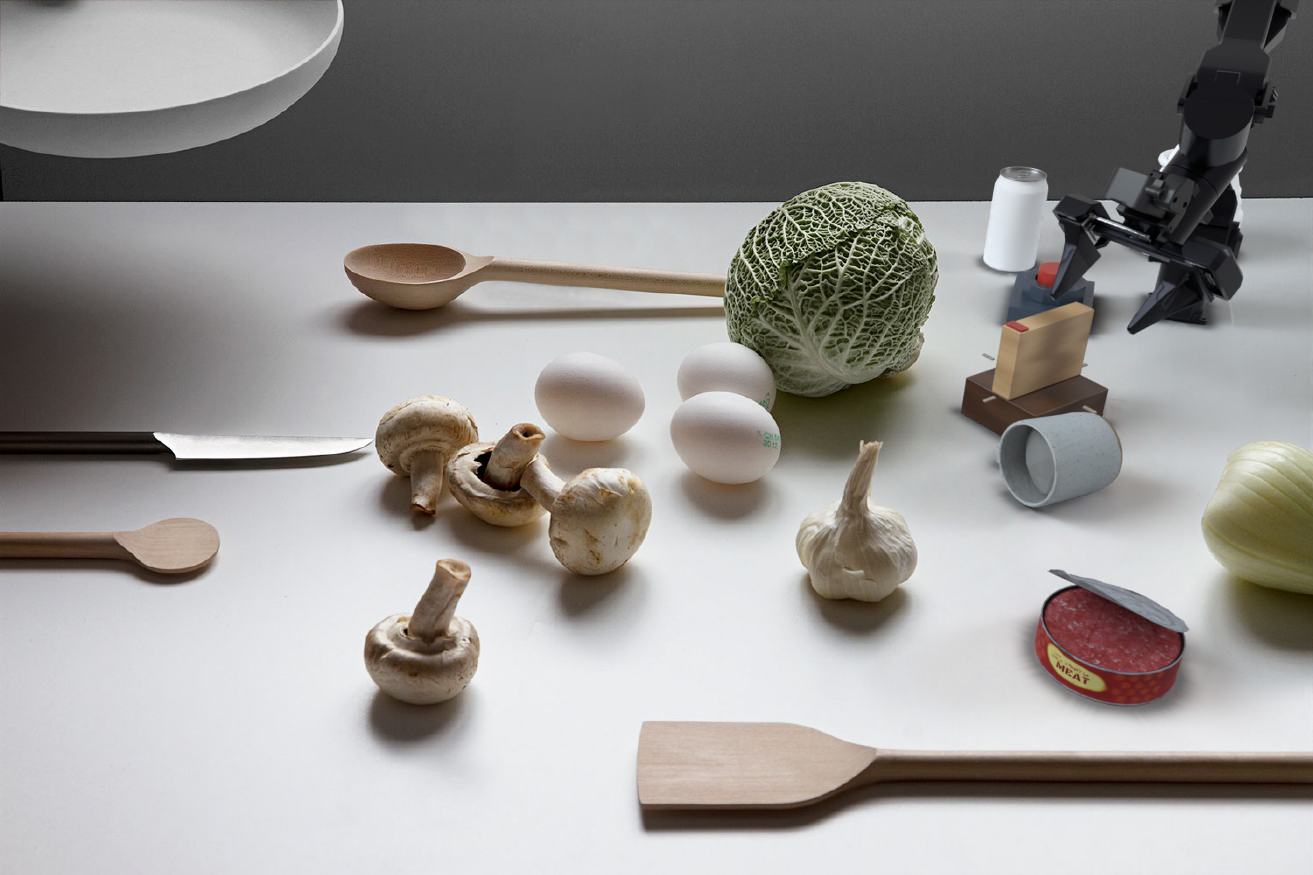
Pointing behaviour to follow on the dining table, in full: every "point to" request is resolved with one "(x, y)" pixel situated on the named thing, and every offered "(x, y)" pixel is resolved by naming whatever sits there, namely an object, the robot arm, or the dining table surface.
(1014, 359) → the tan wooden flat block
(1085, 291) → the button block
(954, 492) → the dining table surface
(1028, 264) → the can
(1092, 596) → the canned food
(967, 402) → the wooden block
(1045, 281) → the button
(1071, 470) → the ceramic mug
